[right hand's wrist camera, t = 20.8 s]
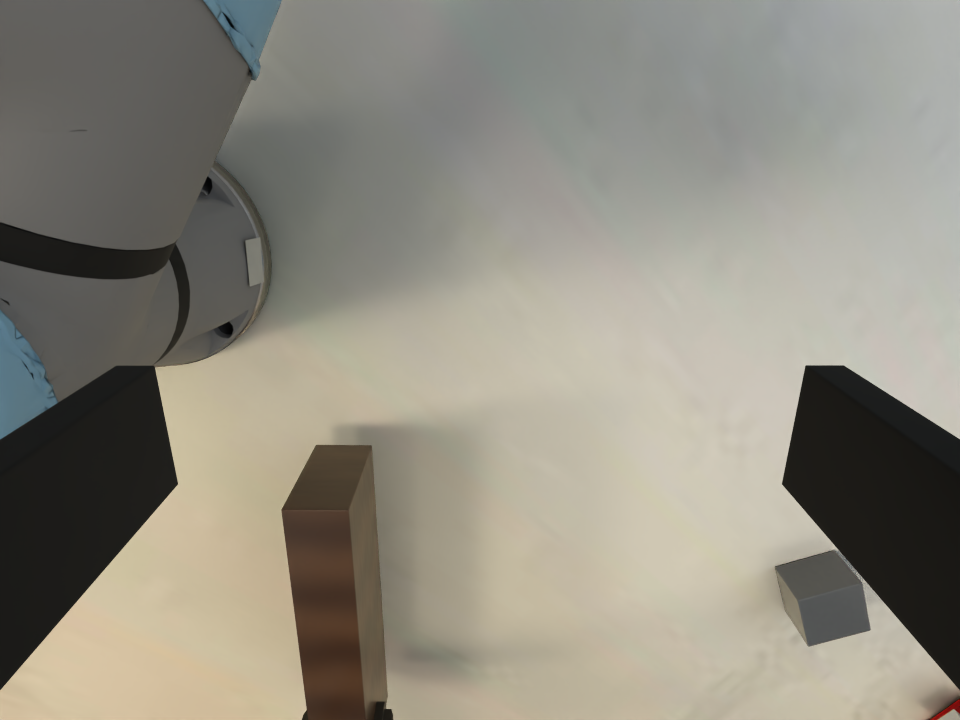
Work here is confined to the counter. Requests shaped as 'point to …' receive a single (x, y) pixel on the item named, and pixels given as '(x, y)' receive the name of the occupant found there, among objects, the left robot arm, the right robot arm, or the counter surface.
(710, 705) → the counter surface
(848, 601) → the slate block
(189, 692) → the counter surface
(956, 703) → the toy
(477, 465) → the counter surface
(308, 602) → the walnut bar
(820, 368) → the right robot arm
